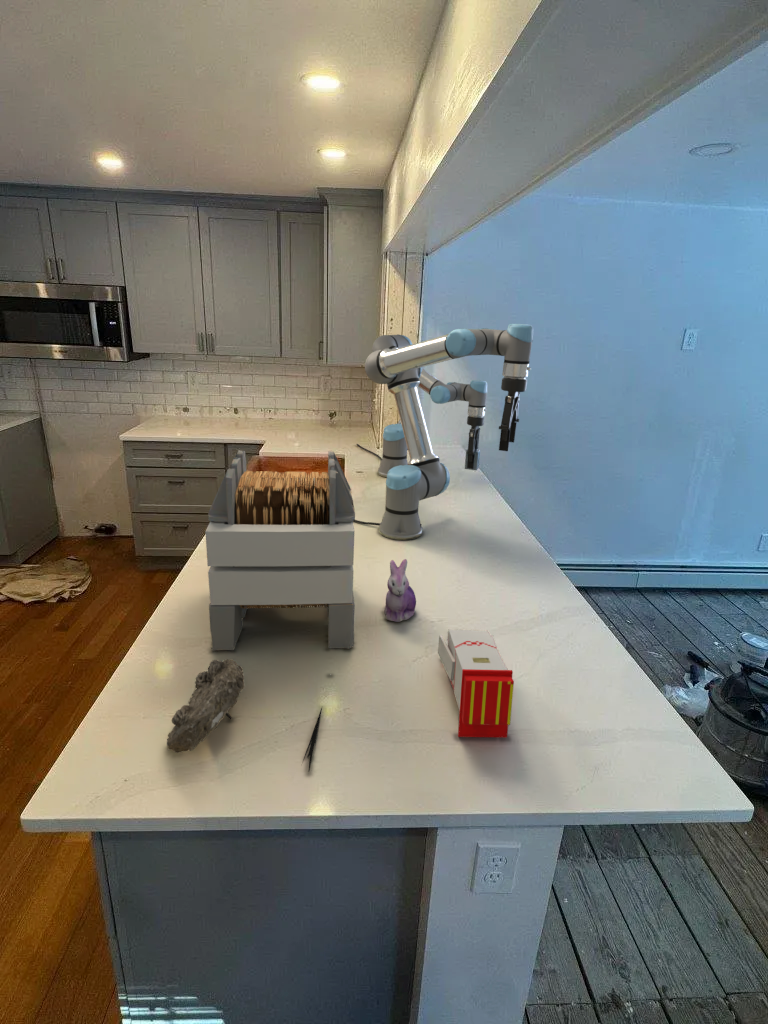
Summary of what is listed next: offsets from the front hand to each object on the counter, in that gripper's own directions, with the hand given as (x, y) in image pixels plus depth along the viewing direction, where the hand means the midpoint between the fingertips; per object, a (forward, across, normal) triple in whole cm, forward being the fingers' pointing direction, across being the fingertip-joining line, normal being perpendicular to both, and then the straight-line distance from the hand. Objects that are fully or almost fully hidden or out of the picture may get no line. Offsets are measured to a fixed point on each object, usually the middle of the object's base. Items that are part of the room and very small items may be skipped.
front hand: (506, 446), depth 179 cm
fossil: (+35, -106, +36) cm, 117 cm away
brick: (+28, +72, +24) cm, 81 cm away
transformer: (+35, -66, +42) cm, 86 cm away
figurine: (+35, -55, +16) cm, 67 cm away
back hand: (+27, +72, +24) cm, 81 cm away
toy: (+35, -79, -8) cm, 87 cm away
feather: (+35, -99, +17) cm, 106 cm away
